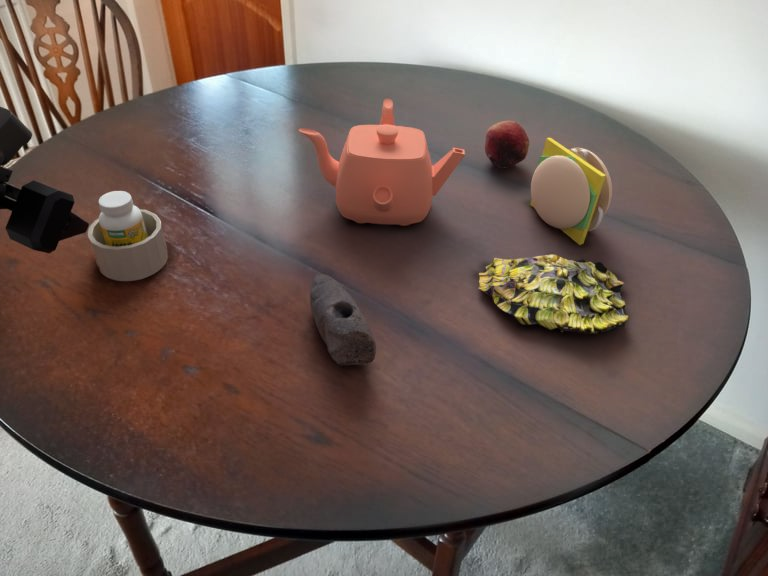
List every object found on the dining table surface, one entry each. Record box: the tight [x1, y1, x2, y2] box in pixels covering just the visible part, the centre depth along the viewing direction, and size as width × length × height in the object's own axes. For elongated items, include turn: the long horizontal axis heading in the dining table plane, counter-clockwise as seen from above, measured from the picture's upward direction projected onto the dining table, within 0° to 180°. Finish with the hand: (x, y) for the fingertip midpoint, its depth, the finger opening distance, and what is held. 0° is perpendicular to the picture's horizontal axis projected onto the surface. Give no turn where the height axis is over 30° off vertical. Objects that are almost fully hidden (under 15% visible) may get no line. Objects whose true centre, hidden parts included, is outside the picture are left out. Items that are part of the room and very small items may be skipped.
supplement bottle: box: [98, 190, 148, 247], centre depth 83 cm, size 5×5×10 cm
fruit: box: [484, 120, 530, 169], centre depth 108 cm, size 8×8×8 cm
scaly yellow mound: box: [478, 254, 630, 335], centre depth 84 cm, size 20×16×7 cm
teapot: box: [298, 98, 466, 227], centre depth 94 cm, size 18×18×14 cm
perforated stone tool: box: [309, 273, 377, 367], centre depth 75 cm, size 15×5×7 cm, turn 22°
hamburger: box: [529, 137, 613, 246], centre depth 95 cm, size 12×8×12 cm
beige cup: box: [87, 208, 169, 282], centre depth 84 cm, size 9×9×6 cm
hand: (57, 215), depth 70 cm, fingers open, 9 cm apart
